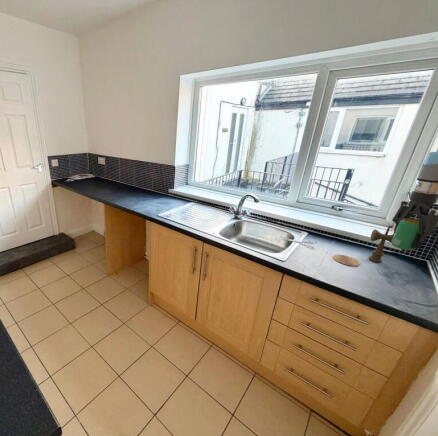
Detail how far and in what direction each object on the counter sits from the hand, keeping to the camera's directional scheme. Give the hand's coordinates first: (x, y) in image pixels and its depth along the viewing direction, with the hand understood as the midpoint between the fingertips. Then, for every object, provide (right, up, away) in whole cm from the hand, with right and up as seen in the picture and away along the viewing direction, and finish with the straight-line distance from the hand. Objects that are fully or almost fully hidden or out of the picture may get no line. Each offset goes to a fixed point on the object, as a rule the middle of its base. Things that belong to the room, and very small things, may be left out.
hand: (404, 243), depth 104 cm
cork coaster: (-8, -11, +21) cm, 25 cm away
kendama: (+7, -11, +21) cm, 25 cm away
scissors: (-22, -4, +39) cm, 45 cm away
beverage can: (0, -2, +1) cm, 2 cm away
